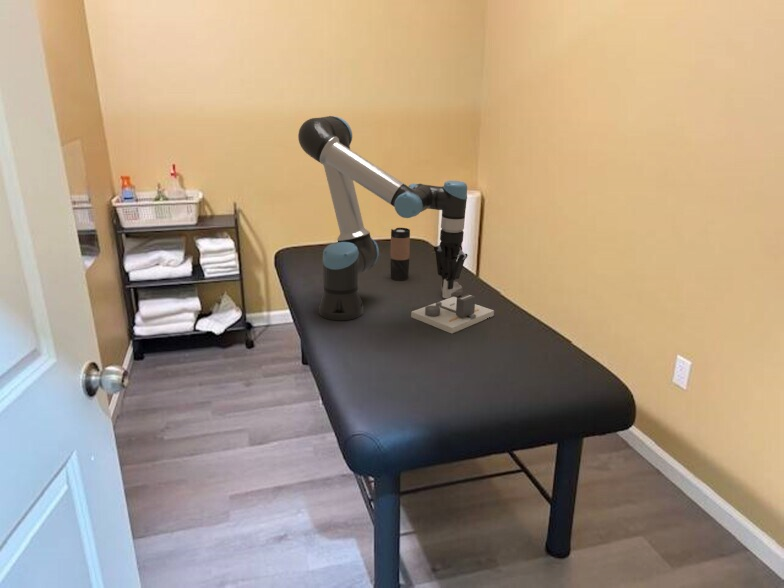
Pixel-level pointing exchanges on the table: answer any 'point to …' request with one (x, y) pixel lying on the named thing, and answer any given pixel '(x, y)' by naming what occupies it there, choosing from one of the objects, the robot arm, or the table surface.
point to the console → (450, 315)
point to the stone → (454, 290)
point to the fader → (465, 305)
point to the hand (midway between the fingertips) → (446, 296)
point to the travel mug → (400, 253)
